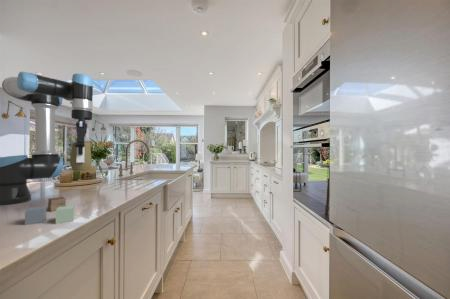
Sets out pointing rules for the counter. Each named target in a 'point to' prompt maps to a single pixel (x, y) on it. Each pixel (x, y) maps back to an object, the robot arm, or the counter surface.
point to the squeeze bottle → (87, 157)
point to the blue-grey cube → (35, 215)
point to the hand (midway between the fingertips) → (81, 161)
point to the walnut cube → (56, 203)
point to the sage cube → (64, 214)
